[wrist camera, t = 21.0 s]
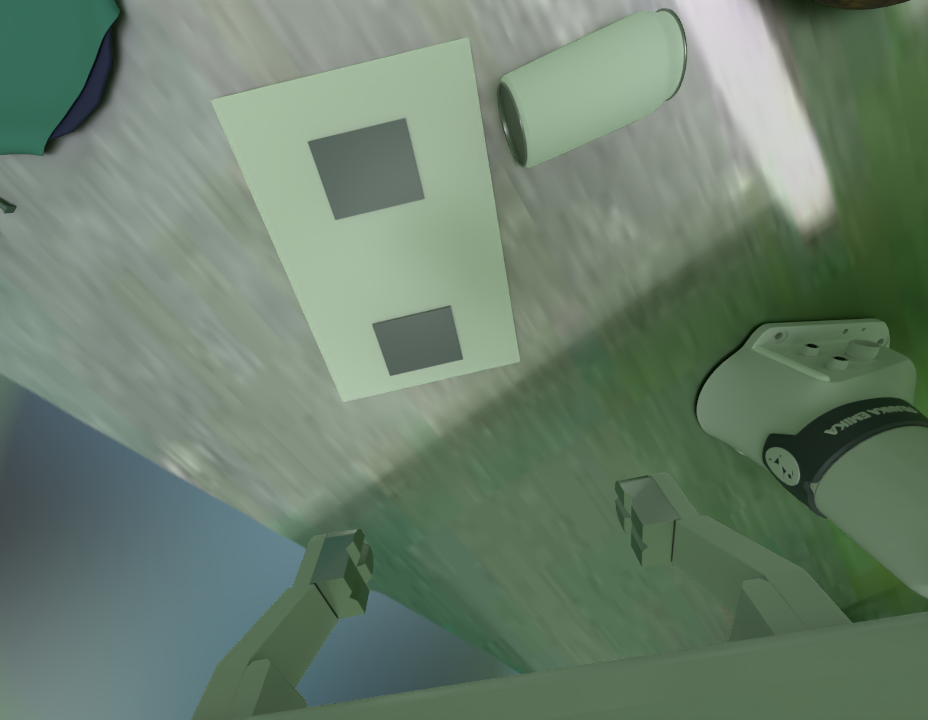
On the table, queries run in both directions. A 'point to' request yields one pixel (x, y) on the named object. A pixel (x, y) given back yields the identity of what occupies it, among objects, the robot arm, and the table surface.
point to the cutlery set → (50, 69)
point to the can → (592, 86)
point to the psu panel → (382, 215)
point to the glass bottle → (859, 3)
